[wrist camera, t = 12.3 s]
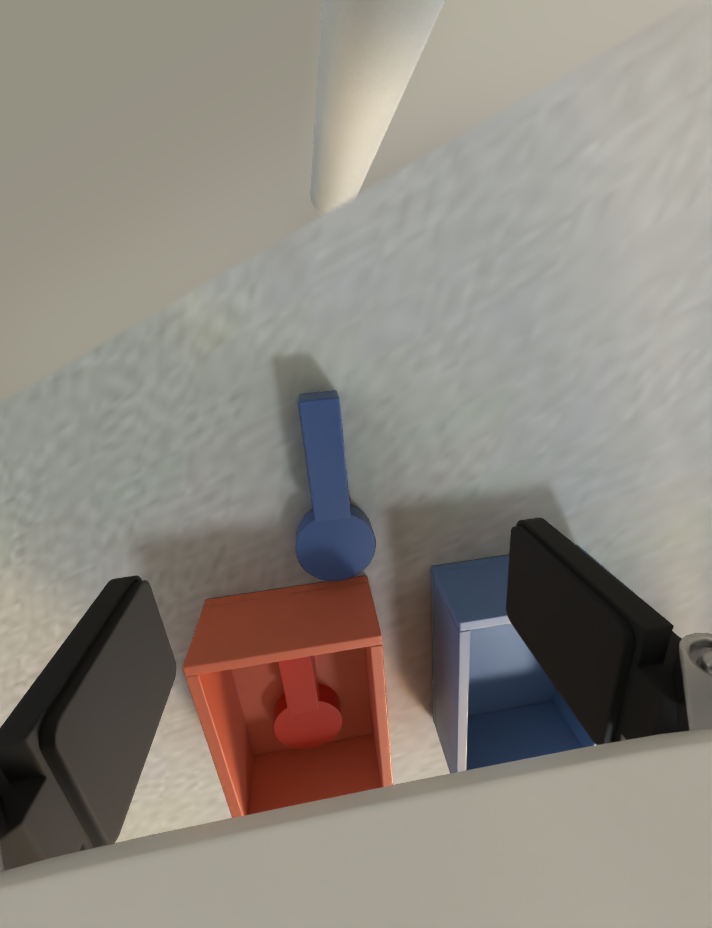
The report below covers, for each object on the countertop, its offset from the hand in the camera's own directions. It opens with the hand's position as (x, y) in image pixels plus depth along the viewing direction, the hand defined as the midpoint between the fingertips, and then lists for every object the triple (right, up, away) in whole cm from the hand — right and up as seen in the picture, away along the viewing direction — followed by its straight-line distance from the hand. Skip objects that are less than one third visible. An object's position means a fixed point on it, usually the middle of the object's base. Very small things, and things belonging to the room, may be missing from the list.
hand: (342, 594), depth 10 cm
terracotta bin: (-3, -10, +15) cm, 18 cm away
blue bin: (+10, -8, +16) cm, 20 cm away
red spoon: (-3, -10, +14) cm, 17 cm away
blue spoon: (-1, +2, +11) cm, 11 cm away
